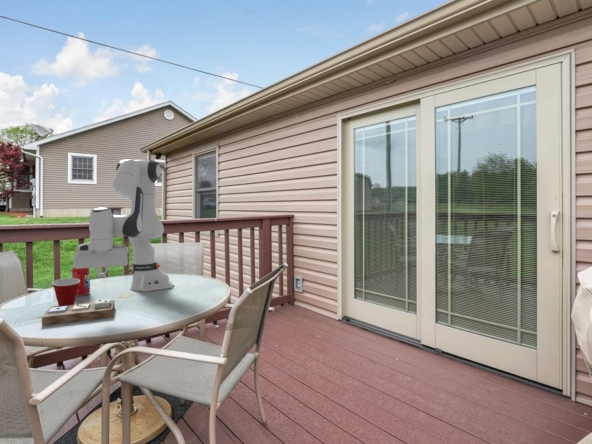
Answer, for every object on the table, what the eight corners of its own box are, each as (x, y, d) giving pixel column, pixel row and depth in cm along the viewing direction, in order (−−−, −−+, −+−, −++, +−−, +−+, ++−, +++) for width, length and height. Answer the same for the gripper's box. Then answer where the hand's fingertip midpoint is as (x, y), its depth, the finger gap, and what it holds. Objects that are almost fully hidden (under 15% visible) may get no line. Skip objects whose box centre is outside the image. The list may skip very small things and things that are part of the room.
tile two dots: (110, 305, 147) (110, 298, 147) (109, 308, 142) (109, 301, 142) (96, 306, 144) (96, 299, 144) (94, 310, 140) (94, 303, 139)
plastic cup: (59, 311, 145) (58, 284, 144) (47, 307, 151) (47, 281, 150) (85, 305, 154) (84, 280, 154) (74, 301, 160) (73, 277, 159)
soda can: (68, 295, 170) (68, 266, 169) (84, 291, 177) (83, 264, 176) (77, 297, 167) (76, 268, 166) (93, 293, 174) (92, 265, 173)
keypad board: (114, 307, 151) (114, 300, 151) (112, 317, 139) (112, 309, 139) (50, 314, 141) (50, 306, 141) (42, 326, 128) (41, 317, 128)
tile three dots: (89, 310, 143) (89, 303, 143) (87, 314, 139) (87, 306, 138) (74, 312, 141) (74, 304, 141) (72, 316, 136) (72, 308, 136)
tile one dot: (67, 312, 140) (67, 305, 140) (65, 317, 135) (64, 309, 135) (51, 314, 138) (51, 307, 137) (48, 318, 133) (48, 311, 133)
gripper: (128, 243, 149) (129, 274, 150) (74, 245, 140) (75, 277, 141) (128, 245, 143) (128, 276, 144) (72, 247, 134) (72, 280, 135)
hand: (101, 277), depth 142 cm, fingers closed
